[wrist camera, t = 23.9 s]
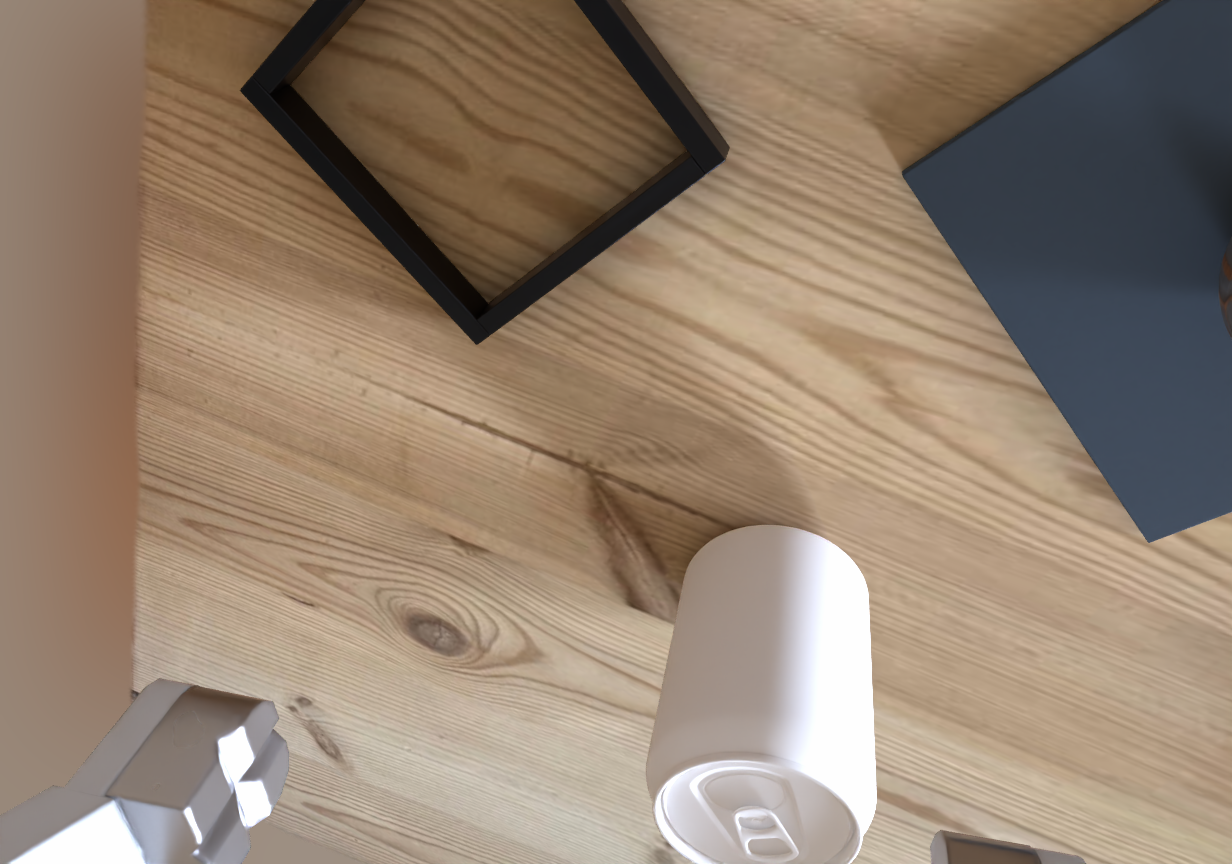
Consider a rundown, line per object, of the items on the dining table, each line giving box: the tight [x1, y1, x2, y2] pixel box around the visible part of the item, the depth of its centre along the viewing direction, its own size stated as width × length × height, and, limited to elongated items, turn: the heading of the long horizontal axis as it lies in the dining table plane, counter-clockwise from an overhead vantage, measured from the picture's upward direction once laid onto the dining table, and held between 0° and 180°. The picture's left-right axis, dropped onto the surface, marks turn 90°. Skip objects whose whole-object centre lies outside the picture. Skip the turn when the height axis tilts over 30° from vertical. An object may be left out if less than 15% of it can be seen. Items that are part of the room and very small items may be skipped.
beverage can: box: [646, 525, 876, 864], centre depth 36 cm, size 8×8×12 cm
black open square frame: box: [240, 0, 730, 345], centre depth 31 cm, size 12×12×2 cm
